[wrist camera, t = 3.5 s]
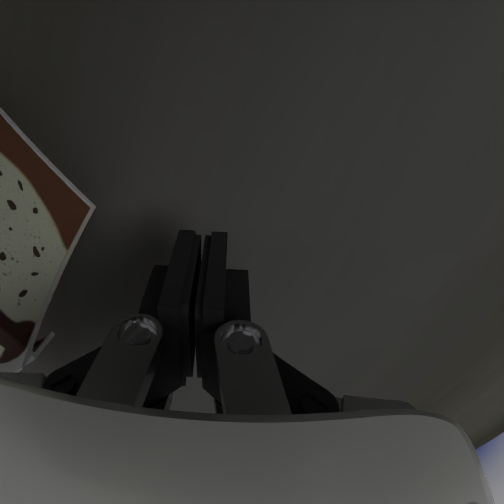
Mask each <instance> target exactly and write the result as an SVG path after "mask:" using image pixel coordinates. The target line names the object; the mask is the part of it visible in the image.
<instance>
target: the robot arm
mask: <svg viewBox="0 0 504 504" xmlns="http://www.w3.org/2000/svg"><path fill="white" fill-rule="evenodd" d="M226 254H227V232H212V235H211V236H208V235H206V236H205V242H204V249H203V255H202V261H201V235H196V233H195V231H192V230H179V233H178V236H177V239H176V243H175V246H174V249H173V253H172V256H171V259H170V263H169V266H163V265H155V266H154V268H153V270H152V273H151V276H150V279H149V282H148V285H147V288H146V291H145V294H144V297H143V300H142V303H141V306H140V309H139V312H138V313H137V314H130V315H127V316H125V317H123V318H121V319H120V320H118V321H117V322H116V324H115V325H114V326H113V328H112V330H111V331H110V333H109V335H108V337H107V338H106V340H105V342H104V344H103V346H101V347H99V348H97V349H96V350H94V351H92V352H90V353H88V354H86V355H84V356H82V357H80V358H78V359H76V360H74V361H73V362H71V363H69V364H67V365H65V366H63V367H61V368H59V369H57V370H55V371H54V372H52V373H51V374H50V375H49V376H45V375H44V373H14V372H0V504H494V500H493V497H492V493H491V489H490V486H489V484H488V481H487V478H486V475H485V472H484V469H483V467H482V464H481V462H480V459H479V457H478V455H477V453H476V450H475V448H474V446H473V445H472V443H471V441H470V439H469V437H468V436H467V434H466V433H465V431H464V430H463V429H462V427H461V426H459V425H458V424H457V423H456V422H455V421H453V420H452V419H450V418H448V417H445V416H443V415H439V414H436V413H432V412H427V411H422V410H416V409H415V408H414V407H413V406H412V405H410V404H409V403H407V402H403V401H396V400H384V399H374V398H364V397H355V396H347V395H344V396H343V398H336V397H334V395H332V394H331V393H330V392H329V391H328V390H326V389H325V388H323V387H322V386H320V385H319V384H317V383H316V382H314V381H313V380H311V379H310V378H308V377H307V376H305V375H304V374H302V373H301V372H300V371H298V370H297V369H295V368H294V367H292V366H291V365H289V364H288V363H287V362H285V361H284V360H282V359H281V358H279V357H278V356H277V355H275V354H274V353H273V352H272V349H271V345H270V342H269V339H268V336H267V334H266V332H265V331H264V330H263V329H262V328H261V327H260V326H259V325H257V324H255V323H253V322H251V317H250V299H249V280H248V270H233V269H226ZM195 348H196V361H197V377H200V378H202V386H203V389H205V390H206V391H207V392H208V393H209V394H210V395H211V396H212V397H213V398H214V408H215V414H210V413H194V412H182V411H171V410H169V408H170V405H171V401H172V396H173V393H172V392H174V391H175V390H177V389H178V388H180V387H181V386H185V385H186V377H192V376H193V367H194V357H195Z"/></svg>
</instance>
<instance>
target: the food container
mask: <svg viewBox="0 0 504 504" xmlns="http://www.w3.org/2000/svg"><path fill="white" fill-rule="evenodd" d="M95 208H96V206H95V205H94V204H93V203H92V202H91V201H90V200H89V199H88V198H86V197H85V196H84V195H83V194H82V193H81V192H80V191H79V190H78V189H77V188H76V187H75V186H74V185H73V184H72V183H71V182H70V181H69V180H68V179H67V178H66V177H65V176H64V175H63V174H62V173H61V172H60V171H59V170H58V169H57V168H56V167H55V166H54V165H53V164H52V163H51V161H50V160H49V159H48V158H47V157H46V156H45V155H44V154H43V153H42V152H41V151H40V150H39V149H38V148H37V147H36V146H35V145H34V144H33V143H32V142H31V140H30V139H29V138H28V137H27V136H26V135H25V134H24V133H23V132H22V131H21V130H20V128H19V127H18V126H17V125H16V124H15V123H14V122H13V121H12V120H11V119H10V117H9V116H8V115H7V114H6V113H5V112H4V111H3V109H2V108H1V107H0V372H14V373H18V372H20V371H21V370H23V369H24V367H25V365H28V364H29V363H31V362H32V361H34V360H35V359H36V358H37V357H38V356H39V354H40V353H41V352H42V351H43V349H44V348H45V347H46V346H47V344H48V343H49V342H50V340H51V339H52V338H53V337H54V336H55V333H54V332H53V331H52V332H51V333H50V334H48V335H47V336H46V337H44V338H43V339H40V340H38V341H35V340H36V337H37V335H38V332H39V329H40V327H41V324H42V321H43V319H44V316H45V314H46V311H47V309H48V306H49V304H50V301H51V299H52V296H53V294H54V292H55V289H56V287H57V285H58V283H59V280H60V278H61V276H62V274H63V271H64V269H65V267H66V265H67V263H68V261H69V259H70V256H71V254H72V252H73V250H74V248H75V246H76V244H77V242H78V240H79V238H80V236H81V234H82V232H83V230H84V229H85V227H86V225H87V223H88V221H89V219H90V217H91V215H92V214H93V212H94V210H95Z"/></svg>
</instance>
